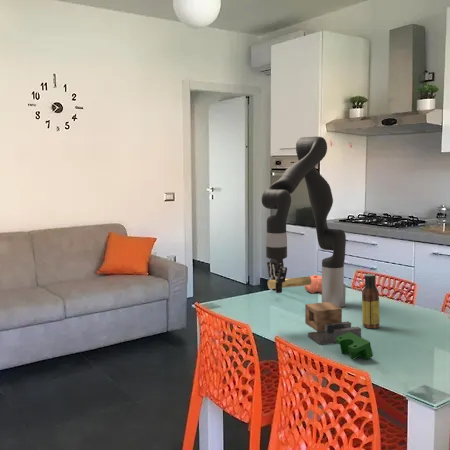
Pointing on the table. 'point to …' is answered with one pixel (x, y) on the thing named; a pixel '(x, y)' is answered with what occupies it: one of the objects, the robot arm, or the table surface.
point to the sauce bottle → (370, 303)
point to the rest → (333, 332)
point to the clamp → (354, 346)
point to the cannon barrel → (291, 282)
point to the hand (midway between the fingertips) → (276, 291)
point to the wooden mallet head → (322, 315)
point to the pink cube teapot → (315, 284)
